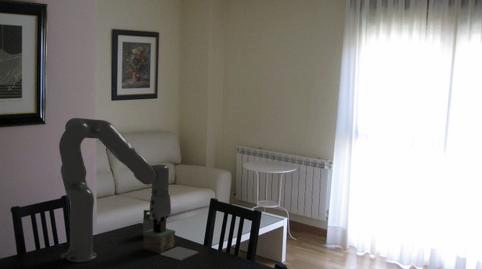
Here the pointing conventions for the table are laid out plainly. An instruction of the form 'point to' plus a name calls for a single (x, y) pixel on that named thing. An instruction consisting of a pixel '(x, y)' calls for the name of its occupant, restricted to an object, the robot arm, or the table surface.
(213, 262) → the table surface
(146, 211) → the ink box
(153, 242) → the keepsake box
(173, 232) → the lid
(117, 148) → the robot arm
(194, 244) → the table surface
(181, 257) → the felt mat
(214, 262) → the table surface
